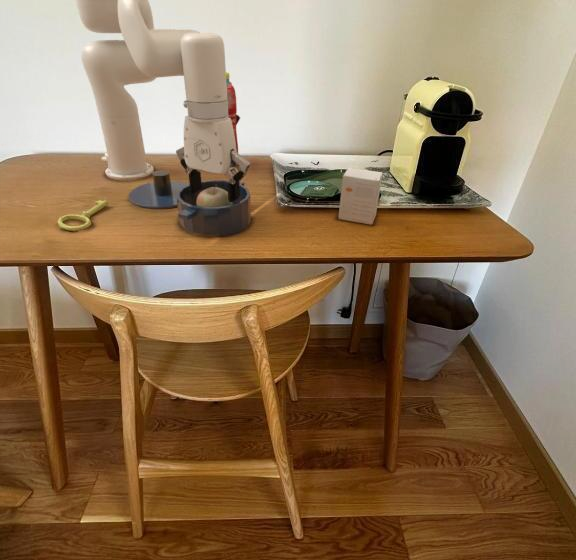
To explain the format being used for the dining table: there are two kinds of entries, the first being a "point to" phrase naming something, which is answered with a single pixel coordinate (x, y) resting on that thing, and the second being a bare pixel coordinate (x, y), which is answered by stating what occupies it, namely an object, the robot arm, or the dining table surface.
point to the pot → (214, 211)
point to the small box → (360, 195)
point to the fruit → (213, 197)
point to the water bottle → (232, 107)
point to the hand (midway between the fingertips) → (214, 195)
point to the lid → (157, 192)
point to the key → (81, 217)
